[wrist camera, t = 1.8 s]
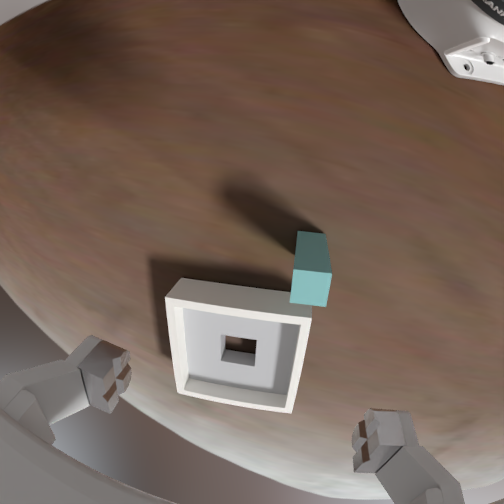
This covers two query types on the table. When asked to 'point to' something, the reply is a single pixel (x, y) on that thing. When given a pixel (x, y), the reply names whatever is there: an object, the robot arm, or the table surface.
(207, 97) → the table surface
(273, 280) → the table surface
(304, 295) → the peg
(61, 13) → the table surface
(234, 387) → the box
